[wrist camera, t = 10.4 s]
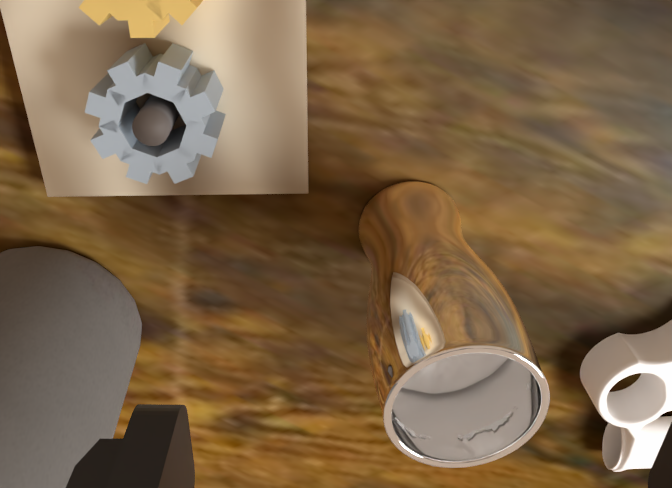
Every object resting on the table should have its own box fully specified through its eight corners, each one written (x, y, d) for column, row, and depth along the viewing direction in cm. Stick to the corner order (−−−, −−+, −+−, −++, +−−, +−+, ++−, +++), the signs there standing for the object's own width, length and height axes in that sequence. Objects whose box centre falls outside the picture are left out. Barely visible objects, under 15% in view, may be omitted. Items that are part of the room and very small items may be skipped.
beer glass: (338, 190, 35) (359, 367, 23) (457, 159, 35) (548, 323, 22) (365, 285, 39) (397, 486, 26) (474, 259, 38) (561, 452, 25)
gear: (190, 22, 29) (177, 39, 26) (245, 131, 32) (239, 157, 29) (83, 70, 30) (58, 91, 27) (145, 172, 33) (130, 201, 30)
